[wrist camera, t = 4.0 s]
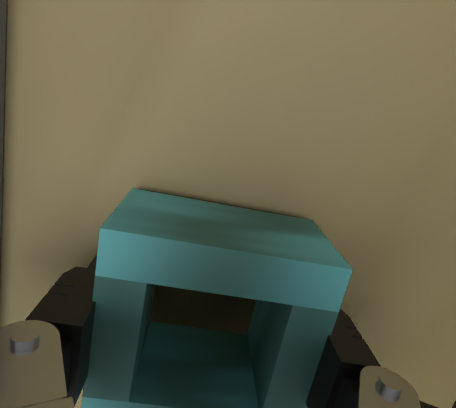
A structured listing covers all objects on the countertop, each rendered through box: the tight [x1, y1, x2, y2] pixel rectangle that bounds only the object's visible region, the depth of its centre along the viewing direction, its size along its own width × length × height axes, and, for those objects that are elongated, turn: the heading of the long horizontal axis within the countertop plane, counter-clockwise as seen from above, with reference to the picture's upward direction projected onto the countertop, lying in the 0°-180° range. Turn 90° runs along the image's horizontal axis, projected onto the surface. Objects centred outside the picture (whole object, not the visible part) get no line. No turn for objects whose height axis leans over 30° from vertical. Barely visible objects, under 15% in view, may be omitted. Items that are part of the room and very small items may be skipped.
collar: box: [81, 188, 353, 408], centre depth 11 cm, size 6×6×4 cm
